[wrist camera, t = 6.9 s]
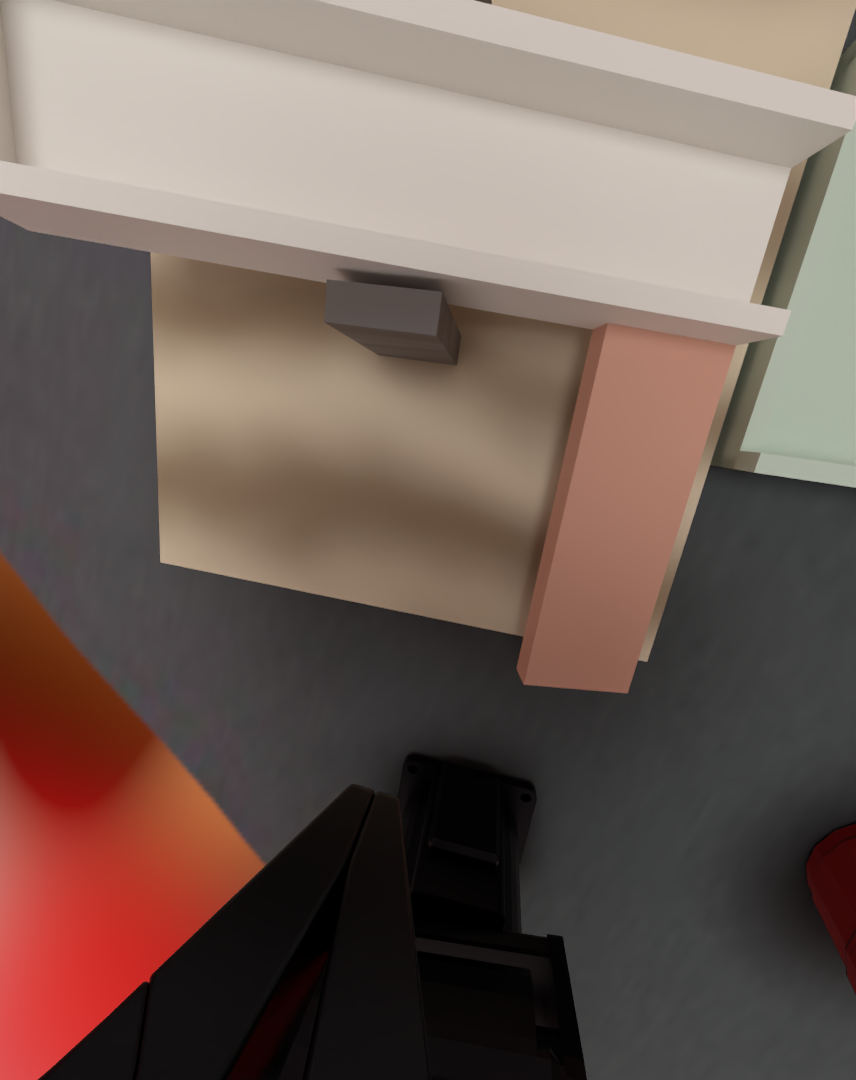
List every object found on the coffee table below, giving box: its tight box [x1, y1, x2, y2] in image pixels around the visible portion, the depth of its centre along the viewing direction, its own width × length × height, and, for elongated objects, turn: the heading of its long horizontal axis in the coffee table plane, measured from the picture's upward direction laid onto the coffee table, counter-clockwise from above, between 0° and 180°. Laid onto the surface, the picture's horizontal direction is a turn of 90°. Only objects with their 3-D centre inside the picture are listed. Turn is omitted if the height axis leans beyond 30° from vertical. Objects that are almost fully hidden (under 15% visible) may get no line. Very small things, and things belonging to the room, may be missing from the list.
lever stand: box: [151, 0, 856, 662], centre depth 14 cm, size 21×22×6 cm
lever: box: [0, 0, 856, 693], centre depth 12 cm, size 17×20×3 cm
